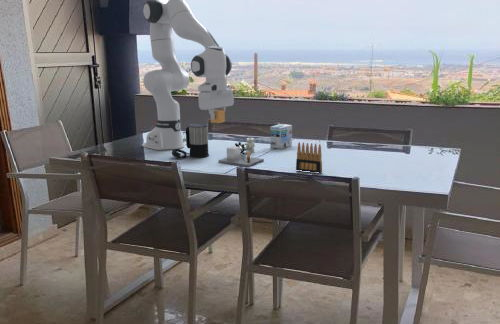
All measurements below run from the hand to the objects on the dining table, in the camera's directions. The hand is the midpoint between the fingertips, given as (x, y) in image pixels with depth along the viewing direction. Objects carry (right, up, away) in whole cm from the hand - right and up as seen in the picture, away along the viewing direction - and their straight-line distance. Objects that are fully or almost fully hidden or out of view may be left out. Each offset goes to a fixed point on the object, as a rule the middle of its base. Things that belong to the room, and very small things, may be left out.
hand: (217, 118), depth 201 cm
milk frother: (-14, -16, +18) cm, 28 cm away
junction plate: (+10, -19, +7) cm, 22 cm away
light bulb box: (+30, -11, +38) cm, 50 cm away
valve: (+12, -15, +24) cm, 31 cm away
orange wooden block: (0, -2, 0) cm, 2 cm away
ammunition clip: (+38, -23, -11) cm, 45 cm away
